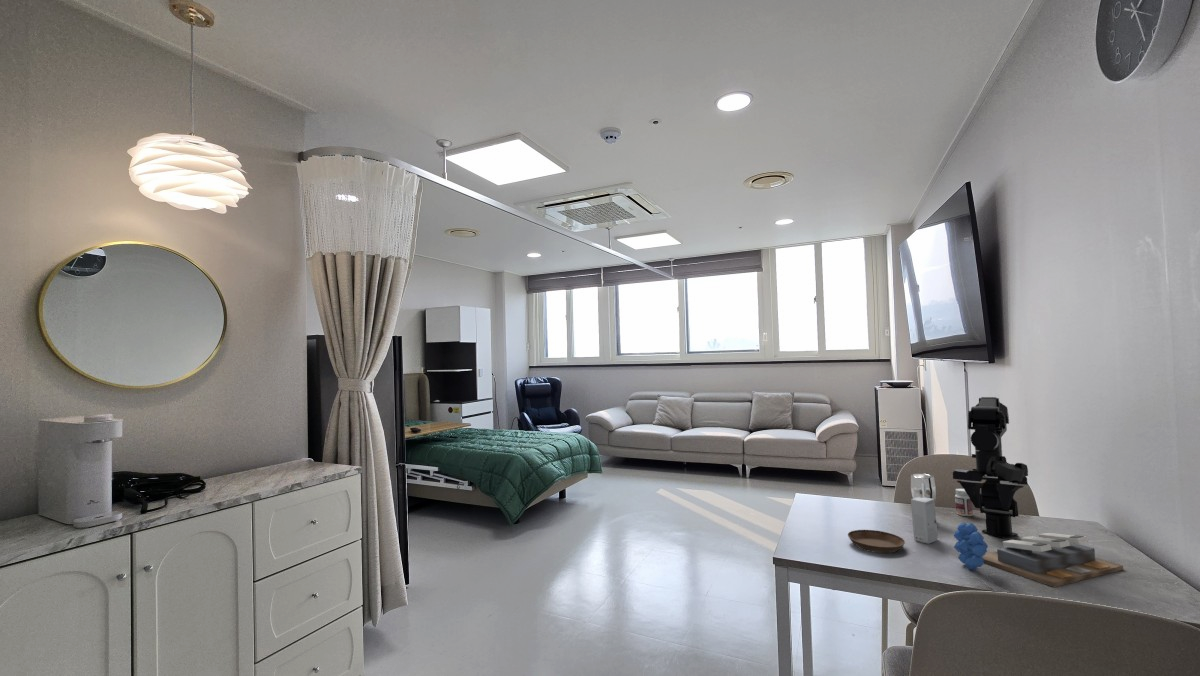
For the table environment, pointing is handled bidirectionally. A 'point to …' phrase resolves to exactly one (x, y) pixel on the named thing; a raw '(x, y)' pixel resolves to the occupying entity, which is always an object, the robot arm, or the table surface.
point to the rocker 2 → (1065, 537)
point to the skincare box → (924, 520)
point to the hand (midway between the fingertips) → (991, 509)
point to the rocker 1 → (1027, 545)
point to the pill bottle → (963, 503)
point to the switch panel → (1051, 578)
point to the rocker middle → (1047, 541)
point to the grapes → (970, 545)
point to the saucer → (876, 540)
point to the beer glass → (923, 486)
